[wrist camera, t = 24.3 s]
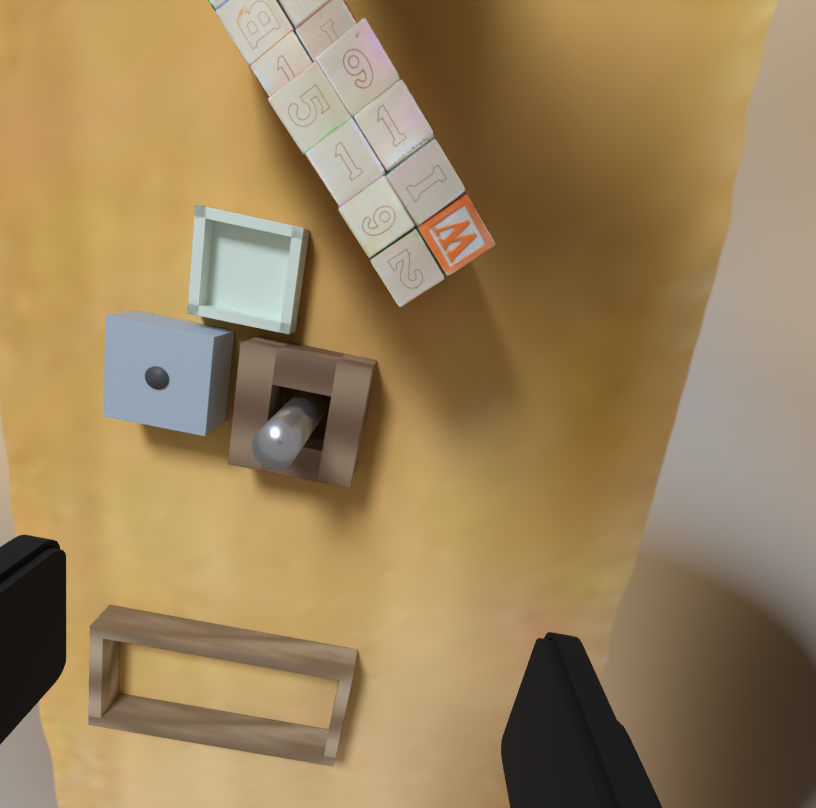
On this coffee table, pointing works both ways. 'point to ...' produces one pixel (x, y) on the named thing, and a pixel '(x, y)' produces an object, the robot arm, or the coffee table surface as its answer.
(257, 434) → the cylinder
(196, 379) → the block
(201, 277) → the tray
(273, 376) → the square-holed wooden block
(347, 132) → the stack of blocks
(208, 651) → the rectangular wooden corral frame
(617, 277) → the coffee table surface
